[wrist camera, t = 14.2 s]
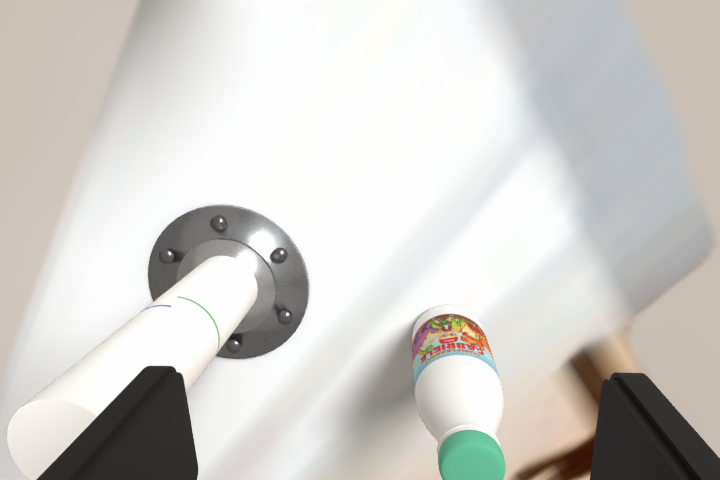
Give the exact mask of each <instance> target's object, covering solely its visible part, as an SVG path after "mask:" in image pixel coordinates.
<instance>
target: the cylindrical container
mask: <svg viewBox="0 0 720 480" xmlns="http://www.w3.org/2000/svg"><path fill="white" fill-rule="evenodd" d="M257 293H258V287H257V282H256V279H255V277H254V274H253V273H252V272H251V270H250V269H249V268H248V267H247V266H246V265H245V264H244V263H242V262H241V261H239V260H237V259H235V258H233V257H229V256H214V257H211V258H209V259H207V260H205V261H204V262H203V263H201V264H200V265H199V266H198V267H196V268H195V269H194V270H193V271H191V272H190V273H189V274H188V275H186V276H185V277H184V278H183V279H181V280H180V281H179V282H178V283H176V284H175V285H174V286H173V287H171V288H170V289H169V290H168V291H166V292H165V293H164V294H163V295H161V296H160V297H159V298H157V299H156V300H155V301H154V302H152V303H151V304H150V305H149V306H147V307H146V308H145V309H144V310H142V311H141V312H140V313H139V314H137V315H136V316H135V317H134V318H132V319H131V320H130V321H129V322H127V323H126V324H125V325H124V326H122V327H121V328H120V329H119V330H117V331H116V332H115V333H114V334H112V335H111V336H110V337H109V338H107V339H106V340H105V341H104V342H102V343H101V344H100V345H99V346H97V347H96V348H95V349H94V350H92V351H91V352H90V353H89V354H87V355H86V356H85V357H84V358H82V359H81V360H80V361H79V362H77V363H76V364H75V365H74V366H72V367H71V368H70V369H69V370H67V371H66V372H65V373H64V374H62V375H61V376H60V377H58V378H57V379H56V380H55V381H53V382H52V383H51V384H50V385H48V386H47V387H46V388H45V389H43V390H42V391H41V392H40V393H38V394H37V395H36V396H35V397H33V398H32V399H31V400H30V401H28V402H27V403H26V404H24V405H23V406H22V407H21V408H20V409H19V410H18V411H17V412H16V413H15V414H14V415H13V417H12V418H11V420H10V422H9V425H8V430H7V444H8V448H9V452H10V454H11V456H12V458H13V461H14V462H15V464H16V465H17V467H18V468H19V470H20V471H21V472H22V473H23V474H24V475H25V477H26V478H27V479H28V480H37V479H38V478H39V476H40V475H41V474H42V473H43V472H44V471H45V470H46V469H47V468H48V467H49V466H50V465H51V464H52V463H53V462H54V461H55V460H56V459H57V458H58V457H59V456H60V455H61V454H62V453H63V452H64V451H65V450H66V448H67V447H68V446H69V445H70V444H71V443H72V442H73V441H74V440H75V439H76V438H77V437H78V436H79V435H80V434H81V433H82V432H83V431H84V430H85V429H86V428H87V427H88V426H89V425H90V424H91V423H92V422H93V421H94V419H95V418H96V417H97V416H98V415H99V414H100V413H101V412H102V411H103V410H104V409H105V408H106V407H107V406H108V405H109V404H110V403H111V402H112V401H113V400H114V399H115V398H116V397H117V396H118V395H119V394H120V393H121V392H122V390H123V389H124V388H125V387H126V386H127V385H128V384H129V383H130V382H131V381H132V380H133V379H134V378H135V377H136V376H137V375H138V374H139V373H140V372H141V371H142V370H143V369H144V368H145V367H146V366H173V367H174V368H175V369H176V371H177V372H180V373H181V374H182V375H183V379H184V384H185V390H186V394H187V393H188V391H189V390H190V389H191V387H192V386H193V385H194V383H195V382H196V381H197V379H198V378H199V377H200V375H201V374H202V373H203V371H204V370H205V369H206V367H207V366H208V365H209V363H210V362H211V361H212V359H213V358H214V357H215V355H216V354H217V353H218V351H219V350H220V349H221V347H222V346H223V345H224V343H225V342H226V341H227V339H228V338H229V337H230V335H231V334H232V333H233V331H234V330H235V329H236V327H237V326H238V325H239V323H240V322H241V321H242V319H243V318H244V317H245V315H246V314H247V313H248V311H249V310H250V309H251V307H252V306H253V304H254V303H255V301H256V298H257Z"/></svg>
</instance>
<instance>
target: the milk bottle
mask: <svg viewBox="0 0 720 480" xmlns="http://www.w3.org/2000/svg"><path fill="white" fill-rule="evenodd" d="M412 352H413V375H414V390H415V399H416V404H417V408H418V412H419V415H420V417H421V419H422V421H423V423H424V425H425V426H426V428H427V429H428V431H429V432H430V433H431V434H432V435H433V436H434V438H435V439H436V440H437V441H438V447H437V453H438V465H439V471H440V474H441V477H442V479H443V480H503V478H504V475H505V461H504V457H503V454H502V451H501V447H500V443H499V441H498V439H497V437H496V432H497V430H498V428H499V425H500V423H501V420H502V415H503V409H504V397H503V390H502V386H501V382H500V378H499V375H498V372H497V369H496V365H495V362H494V359H493V356H492V353H491V350H490V348H489V345H488V342H487V339H486V336H485V333H484V330H483V328H482V326H481V323H480V322H479V320H478V319H477V317H476V316H475V315H474V314H473V313H471V312H470V311H469V310H467V309H465V308H463V307H460V306H456V305H440V306H436V307H433V308H431V309H429V310H428V311H426V312H425V313H424V314H422V315H421V316H420V317H419V319H418V320H417V322H416V324H415V326H414V328H413V334H412Z"/></svg>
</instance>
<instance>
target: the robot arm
mask: <svg viewBox="0 0 720 480" xmlns="http://www.w3.org/2000/svg"><path fill="white" fill-rule="evenodd" d="M197 476H198V463H197V457H196V451H195V445H194V439H193V433H192V427H191V421H190V415H189V409H188V403H187V397H186V390H185V384H184V379H183V375H182V374H181V373H180V372H177V371H176V369H175V368H174V367H173V366H146V367H145V368H144V369H143V370H142V371H141V372H140V373H139V374H138V375H137V376H136V377H135V378H134V379H133V380H132V381H131V382H130V383H129V384H128V385H127V386H126V387H125V388H124V389H123V390H122V392H121V393H120V394H119V395H118V396H117V397H116V398H115V399H114V400H113V401H112V402H111V403H110V404H109V405H108V406H107V407H106V408H105V409H104V410H103V411H102V412H101V413H100V414H99V415H98V416H97V417H96V418H95V419H94V421H93V422H92V423H91V424H90V425H89V426H88V427H87V428H86V429H85V430H84V431H83V432H82V433H81V434H80V435H79V436H78V437H77V438H76V439H75V440H74V441H73V442H72V443H71V444H70V445H69V446H68V447H67V448H66V450H65V451H64V452H63V453H62V454H61V455H60V456H59V457H58V458H57V459H56V460H55V461H54V462H53V463H52V464H51V465H50V466H49V467H48V468H47V469H46V470H45V471H44V472H43V473H42V474H41V475H40V476H39V478H38V479H37V480H197ZM590 480H720V458H719V457H718V456H717V455H716V454H715V453H714V451H712V449H711V448H710V447H709V446H708V445H707V444H706V443H705V441H704V440H703V439H702V438H701V437H700V436H699V435H698V433H697V432H696V431H695V430H694V429H693V428H692V427H691V425H690V424H689V423H688V422H687V421H686V420H685V419H684V418H683V417H682V415H681V414H680V413H679V412H678V411H677V410H676V409H675V407H674V406H673V405H672V404H671V403H670V402H669V401H668V399H667V398H666V397H665V396H664V395H663V394H662V393H661V391H660V390H659V389H658V388H657V387H656V386H655V385H654V383H653V382H652V381H651V380H650V379H649V378H648V377H647V376H646V375H645V374H643V373H613V374H612V376H611V377H610V380H606V379H605V380H604V381H603V383H602V388H601V396H600V404H599V412H598V420H597V428H596V436H595V444H594V452H593V460H592V468H591V476H590Z"/></svg>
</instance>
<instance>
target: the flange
mask: <svg viewBox="0 0 720 480" xmlns="http://www.w3.org/2000/svg"><path fill="white" fill-rule="evenodd" d="M214 256H229V257H233V258H235V259H237V260H239V261H241V262H242V263H244V264H245V265H246V266H247V267H248V268H249V269H250V270H251V272H252V273H253V274H254V277H255V279H256V282H257V287H258V293H257V298H256V301H255V303H254V304H253V306H252V307H251V309H250V310H249V311H248V313H247V314H246V315H245V317H244V318H243V319H242V321H241V322H240V323H239V325H238V326H237V327H236V329H235V330H234V331H233V333H232V334H231V335H230V337H229V338H228V339H227V341H226V342H225V343H224V345H223V346H222V347H221V349H220V350H219V351H218V353H217V354H216V355H215V356H219V357H224V358H234V359H241V358H251V357H256V356H260V355H263V354H266V353H268V352H270V351H272V350H274V349H276V348H277V347H279V346H281V345H282V344H283V343H284V342H286V341H287V340H288V339H289V338H290V337H291V336H292V334H293V333H294V332H295V331H296V329H297V328H298V326H299V325H300V323H301V321H302V318H303V316H304V314H305V311H306V308H307V304H308V298H309V280H308V273H307V270H306V266H305V263H304V261H303V258H302V256H301V254H300V252H299V251H298V249H297V247H296V245H295V244H294V243H293V241H292V240H291V239H290V237H289V236H288V235H287V234H286V233H285V232H284V231H283V230H282V229H281V228H280V227H279V226H277V225H276V224H275V223H273V222H272V221H271V220H269V219H267V218H266V217H264V216H263V215H260V214H258V213H256V212H254V211H252V210H248V209H245V208H242V207H237V206H231V205H211V206H205V207H201V208H197V209H195V210H192V211H189V212H187V213H186V214H184V215H182V216H180V217H178V218H177V219H176V220H174V221H173V222H172V223H170V224H169V225H168V226H167V227H166V228H165V230H164V231H163V232H162V233H161V235H160V236H159V238H158V239H157V241H156V243H155V245H154V247H153V250H152V253H151V256H150V261H149V269H148V278H149V287H150V291H151V295H152V298H153V301H155V300H156V299H157V298H159V297H160V296H161V295H163V294H164V293H165V292H166V291H168V290H169V289H170V288H171V287H173V286H174V285H175V284H176V283H178V282H179V281H180V280H181V279H183V278H184V277H185V276H186V275H188V274H189V273H190V272H191V271H193V270H194V269H195V268H196V267H198V266H199V265H200V264H201V263H203V262H204V261H205V260H207V259H209V258H211V257H214Z"/></svg>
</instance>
